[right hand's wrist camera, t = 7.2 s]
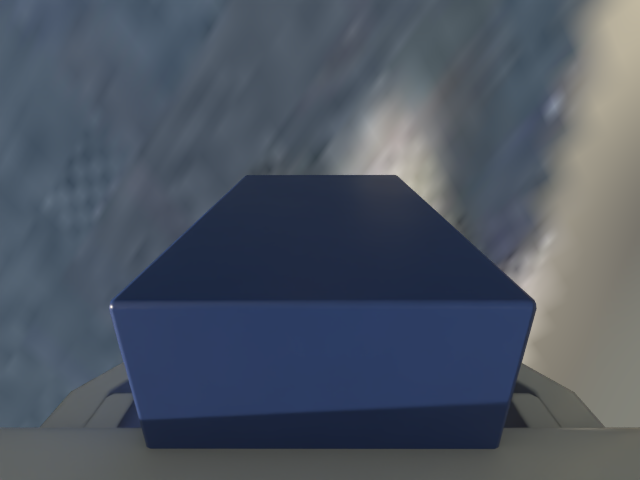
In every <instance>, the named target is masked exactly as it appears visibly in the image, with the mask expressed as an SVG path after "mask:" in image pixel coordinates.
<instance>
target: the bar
mask: <svg viewBox="0 0 640 480" xmlns="http://www.w3.org/2000/svg"><path fill="white" fill-rule="evenodd" d="M109 310H110V314H111V317H112V321H113V325H114V328H115V332H116V336H117V340H118V343H119V347H120V351H121V354H122V358H123V362H124V365H125V369H126V373H127V376H128V380H129V384H130V387H131V391H132V395H133V399H134V402H135V406H136V410H137V413H138V417H139V421H140V424H141V428H142V432H143V435H144V439H145V443H146V447H148V448H150V449H496V448H498V447H499V443H500V440H501V436H502V432H503V429H504V425H505V422H506V418H507V414H508V411H509V407H510V403H511V400H512V396H513V392H514V389H515V385H516V381H517V378H518V374H519V370H520V367H521V363H522V359H523V356H524V352H525V349H526V345H527V341H528V338H529V334H530V330H531V327H532V323H533V319H534V316H535V312H536V303H535V301H534V300H533V299H532V298H531V297H530V296H529V295H528V294H527V293H526V292H525V291H524V290H522V289H521V288H520V287H519V286H518V285H517V284H516V283H515V282H514V281H513V280H511V279H510V278H509V277H508V276H507V275H506V274H505V273H504V272H503V271H502V270H500V269H499V268H498V267H497V266H496V265H495V264H494V263H493V262H492V261H490V260H489V259H488V258H487V257H486V256H485V255H484V254H483V253H482V252H481V251H479V250H478V249H477V248H476V247H475V246H474V245H473V244H472V243H471V242H470V241H468V240H467V239H466V238H465V237H464V236H463V235H462V234H461V233H460V232H459V231H457V230H456V229H455V228H454V227H453V226H452V225H451V224H450V223H449V222H447V221H446V220H445V219H444V218H443V217H442V216H441V215H440V214H439V213H438V212H436V211H435V210H434V209H433V208H432V207H431V206H430V205H429V204H428V203H427V202H425V201H424V200H423V199H422V198H421V197H420V196H419V195H418V194H417V193H416V192H414V191H413V190H412V189H411V188H410V187H409V186H408V185H407V184H406V183H404V182H403V181H402V180H401V179H400V178H399V177H398V176H396V175H247V176H245V177H244V178H243V179H242V180H241V181H239V182H238V183H237V184H236V185H235V186H234V187H233V188H232V189H231V190H230V191H229V192H228V193H227V194H225V195H224V196H223V197H222V198H221V199H220V200H219V201H218V202H217V203H216V204H215V205H214V206H213V207H211V208H210V209H209V210H208V211H207V212H206V213H205V214H204V215H203V216H202V217H201V218H200V219H199V220H197V221H196V222H195V223H194V224H193V225H192V226H191V227H190V228H189V229H188V230H187V231H186V232H185V233H184V234H182V235H181V236H180V237H179V238H178V239H177V240H176V241H175V242H174V243H173V244H172V245H171V246H170V247H168V248H167V249H166V250H165V251H164V252H163V253H162V254H161V255H160V256H159V257H158V258H157V259H156V260H154V261H153V262H152V263H151V264H150V265H149V266H148V267H147V268H146V269H145V270H144V271H143V272H142V273H140V274H139V275H138V276H137V277H136V278H135V279H134V280H133V281H132V282H131V283H130V284H129V285H128V286H126V287H125V288H124V289H123V290H122V291H121V292H120V293H119V294H118V295H117V296H116V297H115V298H114V299H113V300H111V302H110V307H109Z"/></svg>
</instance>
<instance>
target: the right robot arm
mask: <svg viewBox="0 0 640 480" xmlns="http://www.w3.org/2000/svg"><path fill="white" fill-rule="evenodd" d="M0 480H640V428H605V427H604V425H603V424H602V423H601V422H600V421H599V420H598V419H597V418H596V416H595V415H594V414H593V413H592V412H591V411H590V410H589V408H588V407H587V406H586V405H585V404H584V403H583V402H582V401H581V399H580V398H579V397H578V396H577V395H576V394H575V393H574V392H573V391H571V390H569V389H567V388H566V387H564V386H562V385H560V384H558V383H557V382H555V381H553V380H551V379H549V378H548V377H546V376H544V375H542V374H540V373H539V372H537V371H535V370H533V369H531V368H530V367H528V366H526V365H524V364H522V363H521V367H520V370H519V374H518V378H517V381H516V385H515V389H514V392H513V396H512V400H511V403H510V407H509V411H508V414H507V418H506V422H505V425H504V429H503V432H502V436H501V440H500V443H499V447H498V448H496V449H150V448H148V447H146V443H145V439H144V435H143V432H142V428H141V424H140V421H139V417H138V413H137V410H136V406H135V402H134V399H133V395H132V391H131V387H130V384H129V380H128V376H127V373H126V369H125V365H124V362H123V363H121V364H120V365H118V366H116V367H114V368H112V369H111V370H109V371H107V372H105V373H103V374H102V375H100V376H98V377H96V378H95V379H93V380H91V381H89V382H87V383H86V384H84V385H82V386H80V387H78V388H77V389H75V390H73V391H71V392H70V393H69V394H68V396H67V397H66V398H65V399H64V400H63V401H62V402H61V404H60V405H59V406H58V407H57V408H56V409H55V410H54V412H53V413H52V414H51V415H50V416H49V417H48V418H47V420H46V421H45V422H44V423H43V424H42V425H41V426H40V428H0Z"/></svg>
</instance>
